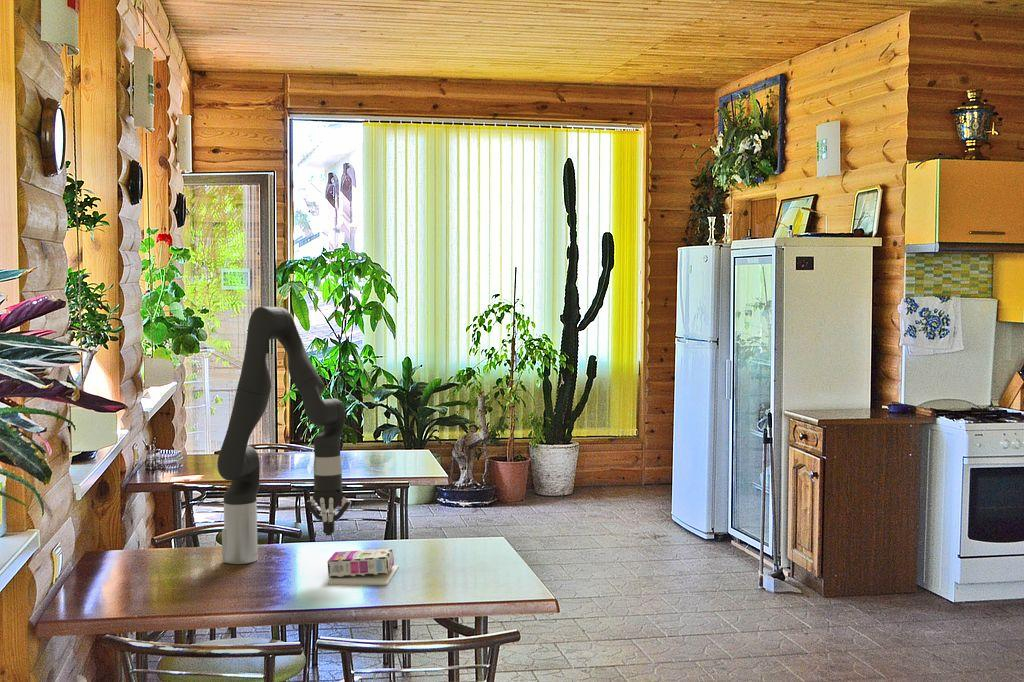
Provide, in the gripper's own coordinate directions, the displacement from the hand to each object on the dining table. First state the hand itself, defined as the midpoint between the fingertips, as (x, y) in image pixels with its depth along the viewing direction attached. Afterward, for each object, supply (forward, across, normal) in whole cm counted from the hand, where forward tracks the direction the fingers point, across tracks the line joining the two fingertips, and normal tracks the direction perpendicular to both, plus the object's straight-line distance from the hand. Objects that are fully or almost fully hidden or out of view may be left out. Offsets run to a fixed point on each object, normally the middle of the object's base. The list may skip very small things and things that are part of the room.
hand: (329, 534), depth 296 cm
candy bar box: (+8, 0, 0) cm, 9 cm away
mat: (+11, +10, 0) cm, 15 cm away
